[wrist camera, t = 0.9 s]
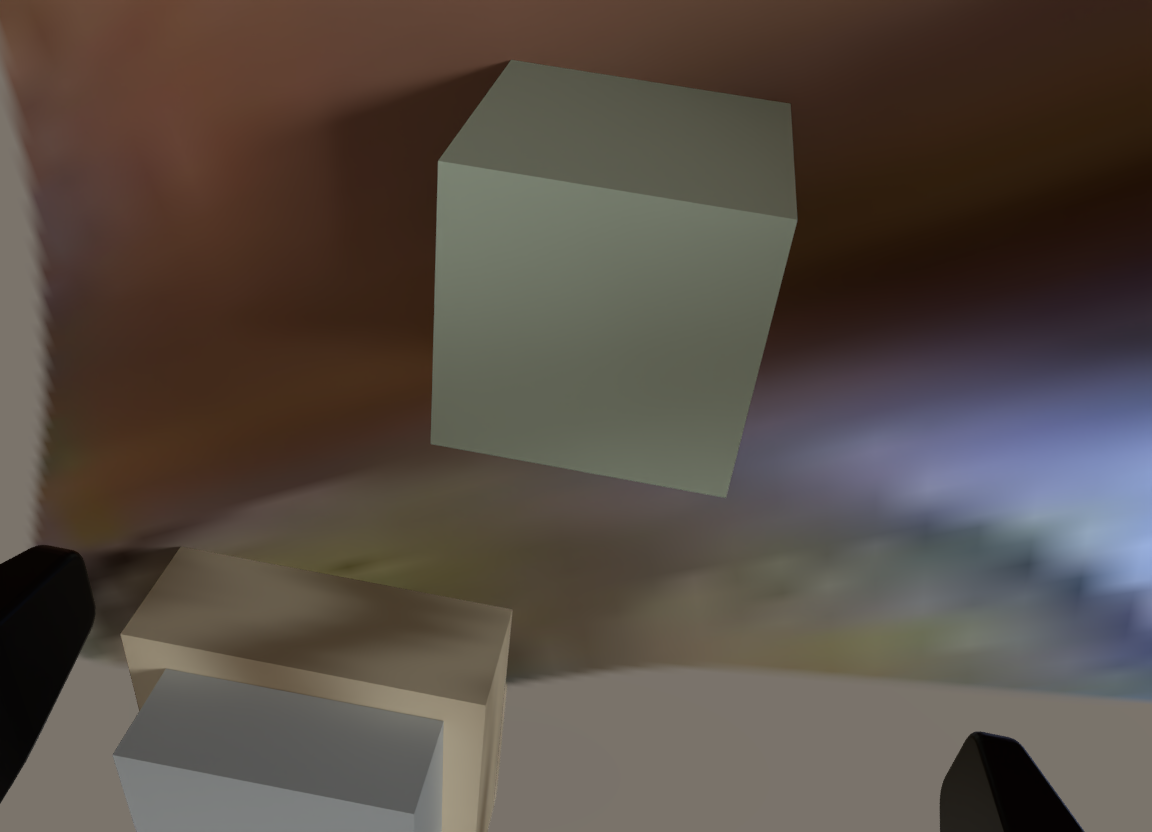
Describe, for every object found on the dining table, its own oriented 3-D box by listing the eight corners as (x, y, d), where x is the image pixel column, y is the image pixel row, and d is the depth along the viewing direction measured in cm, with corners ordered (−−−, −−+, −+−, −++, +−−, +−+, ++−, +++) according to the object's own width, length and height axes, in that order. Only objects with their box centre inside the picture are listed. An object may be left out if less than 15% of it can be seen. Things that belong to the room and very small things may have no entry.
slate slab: (443, 721, 24) (413, 814, 22) (440, 874, 28) (416, 964, 26) (165, 668, 25) (112, 755, 23) (203, 827, 29) (160, 912, 27)
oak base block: (515, 598, 26) (485, 705, 24) (496, 794, 32) (470, 901, 29) (187, 536, 27) (120, 634, 24) (223, 739, 32) (171, 839, 29)
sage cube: (790, 101, 18) (797, 219, 14) (733, 342, 21) (725, 497, 16) (512, 58, 18) (437, 160, 14) (495, 301, 21) (430, 443, 17)
